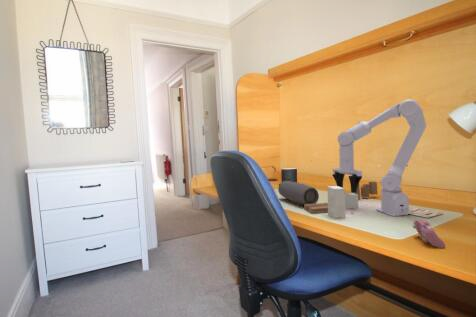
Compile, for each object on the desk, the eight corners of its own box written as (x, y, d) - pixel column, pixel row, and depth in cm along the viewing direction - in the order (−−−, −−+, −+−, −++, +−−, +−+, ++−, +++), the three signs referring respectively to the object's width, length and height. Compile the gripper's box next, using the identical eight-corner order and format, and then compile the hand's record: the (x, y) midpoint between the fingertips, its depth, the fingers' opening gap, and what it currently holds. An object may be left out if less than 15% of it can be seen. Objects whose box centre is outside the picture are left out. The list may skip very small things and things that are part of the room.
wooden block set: (374, 196, 137) (373, 176, 137) (381, 198, 129) (380, 177, 129) (337, 197, 139) (336, 177, 139) (342, 200, 131) (341, 179, 131)
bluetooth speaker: (320, 207, 120) (319, 185, 120) (302, 209, 117) (302, 187, 117) (293, 197, 142) (292, 179, 141) (277, 199, 139) (277, 180, 138)
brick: (358, 208, 116) (358, 194, 116) (341, 209, 115) (340, 196, 114) (352, 206, 120) (352, 193, 119) (336, 207, 119) (336, 194, 118)
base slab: (344, 212, 111) (344, 206, 110) (312, 215, 109) (311, 209, 108) (334, 207, 119) (334, 202, 118) (304, 210, 116) (304, 204, 116)
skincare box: (345, 219, 101) (345, 188, 100) (335, 220, 101) (334, 189, 100) (337, 215, 107) (336, 185, 106) (327, 216, 107) (326, 186, 106)
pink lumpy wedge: (415, 239, 81) (408, 217, 81) (432, 236, 80) (425, 213, 80) (428, 253, 72) (420, 228, 72) (447, 249, 71) (439, 224, 71)
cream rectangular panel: (364, 215, 105) (364, 214, 105) (345, 217, 104) (345, 215, 104) (355, 211, 111) (355, 210, 111) (337, 212, 110) (337, 211, 110)
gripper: (367, 160, 111) (367, 192, 112) (340, 158, 124) (341, 187, 125) (354, 161, 108) (354, 194, 109) (329, 159, 121) (329, 188, 122)
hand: (346, 190), depth 117 cm, fingers open, 7 cm apart
